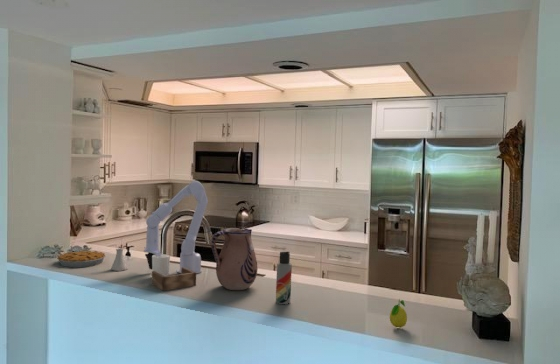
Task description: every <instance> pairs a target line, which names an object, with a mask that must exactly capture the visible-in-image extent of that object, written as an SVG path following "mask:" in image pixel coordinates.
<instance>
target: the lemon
mask: <svg viewBox="0 0 560 364" xmlns="http://www.w3.org/2000/svg"><path fill="white" fill-rule="evenodd" d="M398 303H399V304H401V305H402V306H401V305H399V304H395V305H394V306H393V307H392V308H391V310H390V313H389V321H390V323H391V325H392V326H394V327H395V328H396V327H400V328H403V327H405V326H406V325H407V322H408V317H407V316H408V315H407V312H406V310H405V309H404V308H403V307H406V305H405V304H406V303H405V301H404V300H401V301H400V298H399V299H398Z"/></svg>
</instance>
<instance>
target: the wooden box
mask: <svg viewBox="0 0 560 364" xmlns="http://www.w3.org/2000/svg"><path fill="white" fill-rule="evenodd" d="M151 285H152V286H154V287H156V288H157V289H159V290H161V291H169V290H175V289H182V288H187V287H193V286H197V273H196V272H194V271H191V270H189V269H187V268H185V267H182V269H181V273H179V274H173V275H168V276H163V275H161V274H159V273H157V272H155V271H153V270H152V271H151Z"/></svg>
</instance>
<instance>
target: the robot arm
mask: <svg viewBox="0 0 560 364" xmlns="http://www.w3.org/2000/svg"><path fill="white" fill-rule="evenodd" d="M191 195H192V196H193V197H194V198H195V200H196V202H197V203H196V207H195V210H194V213H193V215H192V219H191V221H190V225H189V228H188V231H187V234H186V237H185V238H184V240H183V241H182V242H181V247H180V249H181V252H180V254H179V255H180V257H179V269H178V270H176V273H179V274H181V269H182V267H185V268H187V269H189V270H191V271H194V272H196V274H200V273H202V271H201V269H202V257H201V254H200V253H198V252H195V249H196V239H197V237H198V234H199V230H200V227H201V224H202V221H203V218H204V215H205V211H206V209H207V205H208V203H209V198H208V197H207V193H206V189H205V187H204V185H203V184H202V183H201V182H200V181H198V180H193V181H191V182H190V183H189V184H187V185H186V186H185V187H183V188H182V189H180V191H179V192H177V194H176V195H175V196H174V197H172V198H171V199H170V200H169V201H168V202H163V203H161V204H159V205H158V206H159V207H158V208H157V209H155V210H154V211H152V212H151V215H149V216H148V217H147V219H146V221H145V222H146V225H147V227H146V238H145V240H146V242H145V243H146V246H145V247H144V250H143V252H144V253H145V254H144V256H145V257H146V260H147V264H148V268H149V270H152V256H153V255H156V257H159V256H161V254H162V252H161V250H160V223H161V222H163V221H164V220H165V219H166V218H167V217H168V216H169V215H170V214H172V212H173V208H174V207H175V206H176V205H177V204H179V203H180V201H181V200H182V199H184V198H186V197H189V196H191Z"/></svg>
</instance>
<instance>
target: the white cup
mask: <svg viewBox="0 0 560 364" xmlns="http://www.w3.org/2000/svg"><path fill="white" fill-rule="evenodd" d="M170 260H171V255H169V254H164V253H161V256H159V257H156V255H153V256H152V269H151V270H152V271H155V272H157V273H159V274H161V275H163V276H169V271H170V263H171V261H170Z"/></svg>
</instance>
